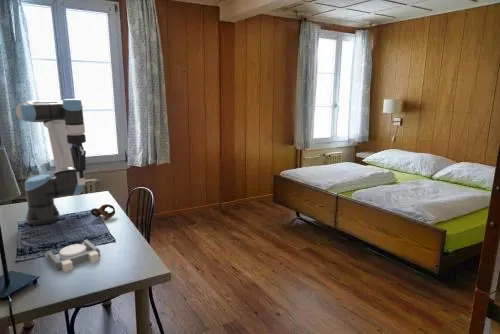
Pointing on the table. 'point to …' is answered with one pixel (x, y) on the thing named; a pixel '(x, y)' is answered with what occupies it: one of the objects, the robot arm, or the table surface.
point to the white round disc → (72, 251)
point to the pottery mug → (103, 212)
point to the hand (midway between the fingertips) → (81, 184)
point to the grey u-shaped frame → (75, 257)
